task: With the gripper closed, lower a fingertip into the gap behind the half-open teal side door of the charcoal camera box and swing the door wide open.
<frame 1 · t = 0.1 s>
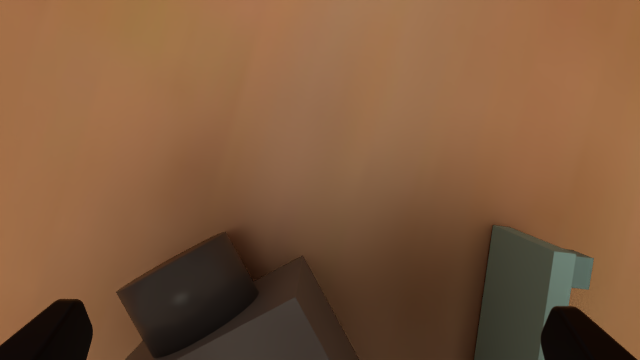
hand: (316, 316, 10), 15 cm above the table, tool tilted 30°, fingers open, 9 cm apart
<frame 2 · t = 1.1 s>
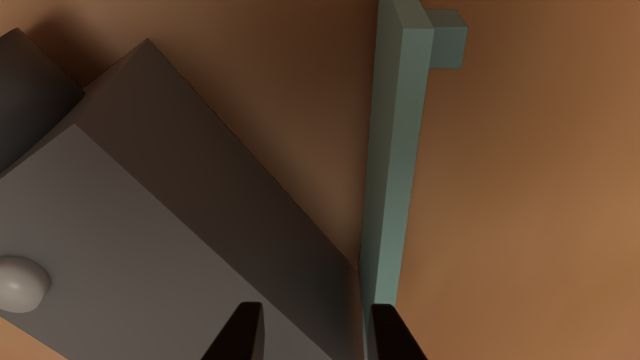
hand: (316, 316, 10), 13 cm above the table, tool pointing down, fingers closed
camera body: (200, 216, 25), on the table
door: (395, 191, 20), point 3 cm above the table, hinge at 35.0°
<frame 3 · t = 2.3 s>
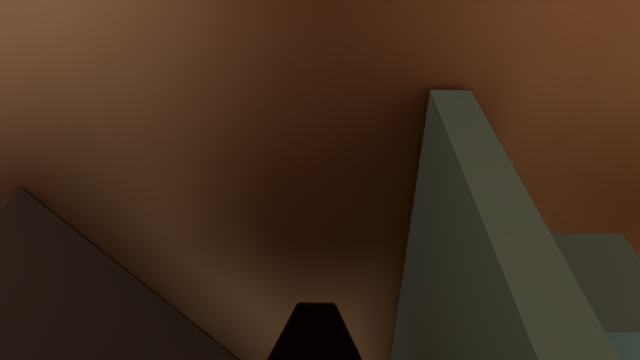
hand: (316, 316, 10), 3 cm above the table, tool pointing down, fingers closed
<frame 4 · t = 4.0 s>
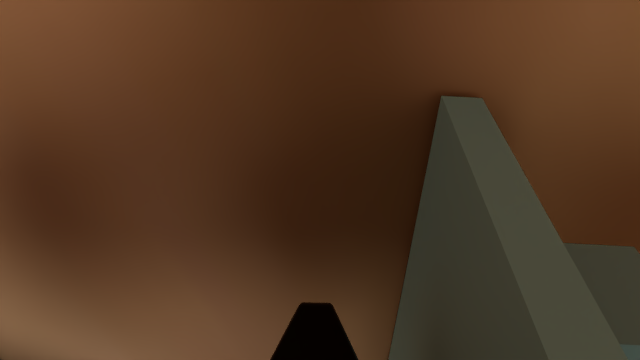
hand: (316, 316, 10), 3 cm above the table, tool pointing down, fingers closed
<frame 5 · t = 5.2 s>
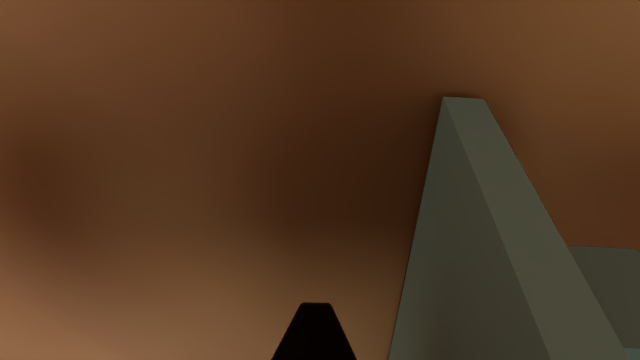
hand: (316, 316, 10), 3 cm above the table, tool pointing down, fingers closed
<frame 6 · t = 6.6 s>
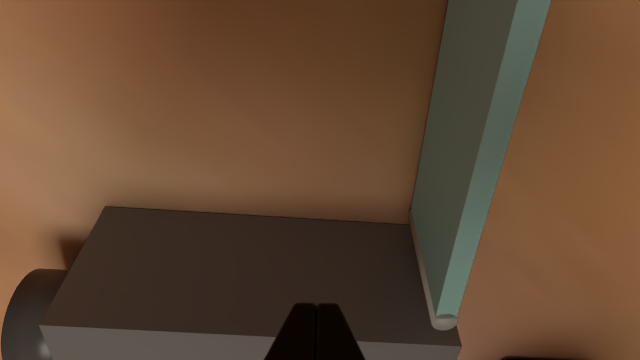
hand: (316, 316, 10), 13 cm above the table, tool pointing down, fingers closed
camera body: (268, 279, 27), on the table
door: (476, 118, 17), point 3 cm above the table, hinge at 87.4°
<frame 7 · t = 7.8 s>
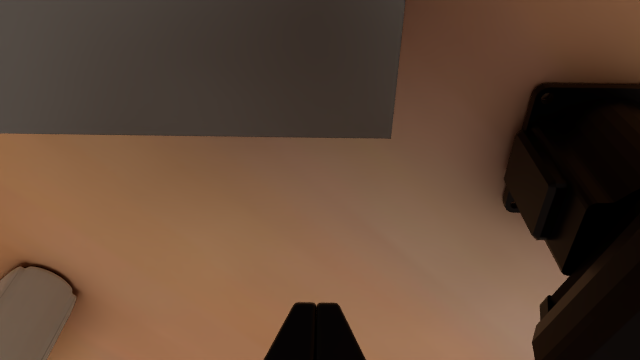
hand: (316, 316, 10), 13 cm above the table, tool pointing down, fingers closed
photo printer: (18, 311, 30), on the table
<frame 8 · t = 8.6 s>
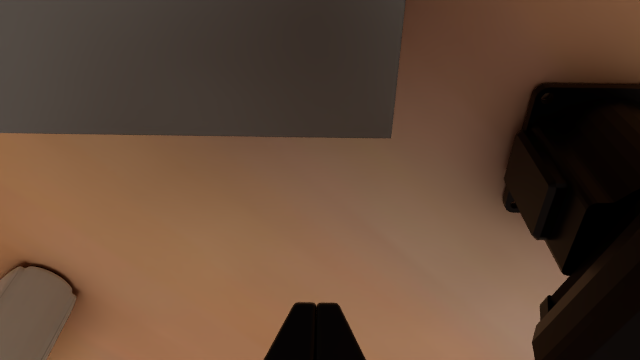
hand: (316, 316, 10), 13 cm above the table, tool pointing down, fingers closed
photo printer: (18, 311, 30), on the table
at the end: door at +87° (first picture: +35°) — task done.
